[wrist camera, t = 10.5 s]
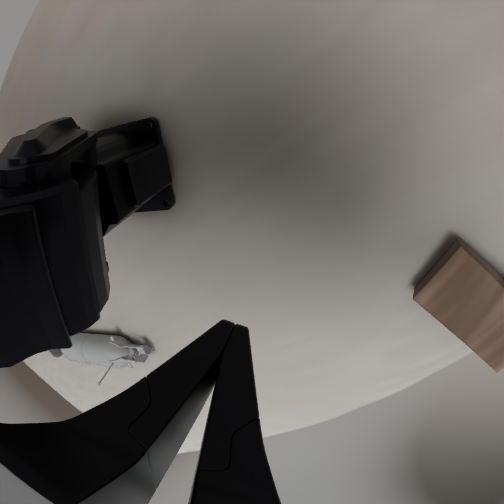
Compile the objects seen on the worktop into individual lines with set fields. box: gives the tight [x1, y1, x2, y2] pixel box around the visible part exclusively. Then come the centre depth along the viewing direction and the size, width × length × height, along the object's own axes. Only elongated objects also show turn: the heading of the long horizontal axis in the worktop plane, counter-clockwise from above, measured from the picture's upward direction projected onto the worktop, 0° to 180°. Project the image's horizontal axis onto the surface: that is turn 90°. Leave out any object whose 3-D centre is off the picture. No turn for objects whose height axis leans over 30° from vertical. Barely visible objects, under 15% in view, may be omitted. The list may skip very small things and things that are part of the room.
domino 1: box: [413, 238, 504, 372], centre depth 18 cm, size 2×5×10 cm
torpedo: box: [48, 333, 154, 385], centre depth 31 cm, size 18×5×7 cm, turn 106°
